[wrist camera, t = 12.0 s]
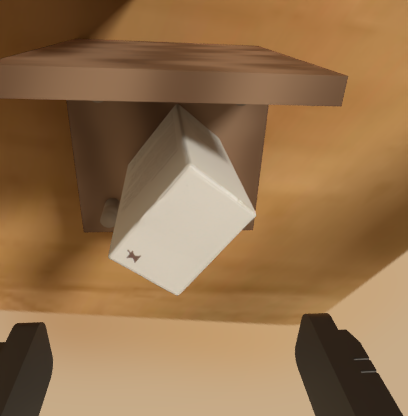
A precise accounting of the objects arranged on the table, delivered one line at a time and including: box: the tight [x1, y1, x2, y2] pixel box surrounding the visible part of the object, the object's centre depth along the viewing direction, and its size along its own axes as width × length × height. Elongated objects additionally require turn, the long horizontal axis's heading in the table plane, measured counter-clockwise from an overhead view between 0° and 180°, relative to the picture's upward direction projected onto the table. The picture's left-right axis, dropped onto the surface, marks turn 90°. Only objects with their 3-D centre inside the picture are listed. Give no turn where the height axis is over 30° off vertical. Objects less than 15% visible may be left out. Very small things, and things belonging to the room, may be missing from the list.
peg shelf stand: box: [0, 39, 348, 232], centre depth 24 cm, size 14×14×16 cm
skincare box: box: [108, 104, 256, 296], centre depth 22 cm, size 6×4×12 cm
